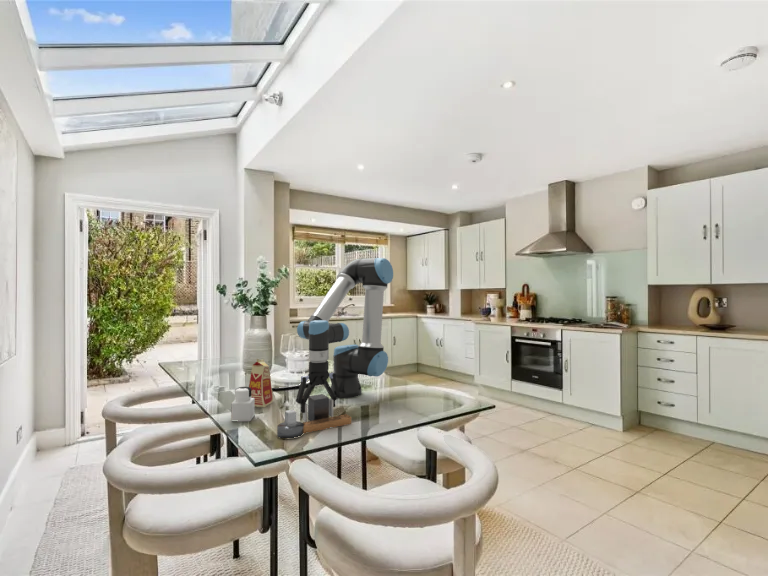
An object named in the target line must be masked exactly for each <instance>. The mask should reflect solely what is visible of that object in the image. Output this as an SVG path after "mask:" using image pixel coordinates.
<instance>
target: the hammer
mask: <svg viewBox="0 0 768 576" xmlns="http://www.w3.org/2000/svg"><path fill="white" fill-rule="evenodd" d="M351 424H352V416H350V415H348V414H347V413H345V414H341V415H335V416H334V415H333V417H331V416H329V418H324V419H318V420H313V421H310V420H307V422H305V421H303V422H301V421H297V411H296V410H294V409H289V410H288V409H287V410H284V422H281V423H280V422H279V424H278V425H277V427H276V433H277V435H276V436H277V437H278V438H279V437H280V439H282V438H294V437H298V436H301V435H302V434H303V433H304V434H307V433H306V432H309V433H312V431H314V432H318V430H319V431H323V430H326V428H328V429H331V428H330V427H333V428H337V426H338V427H342V426H348V425H351ZM304 434H303V435H304ZM303 435H302V436H303ZM302 436H301V437H302ZM298 438H299V437H298ZM294 439H295V438H294Z"/></svg>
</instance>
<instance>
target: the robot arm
mask: <svg viewBox="0 0 768 576" xmlns="http://www.w3.org/2000/svg"><path fill="white" fill-rule="evenodd" d="M393 279H394V270H393V266H392V263H391V262H390V261H389V260H388V259H387V258H384V257H372V258H371V257H368V258H367V257H366V258H364V257H362V258H361V257H360V258H357V259H354V260H352V261H351V262H348V264H346V265H345V266H344V267H343V268H341V270H340V271H339V272H338V274H337V275H336V280H335V282H334V283H333V284H332V285H331V288H330V289H329V290H328V291H327V293H326V295H324V297H323V298H322V300H321V301H320V303H319V304H318V306H317V307H316V308H315V310H314V311H313V313H312V314H311V316H310V317H309V318H308V320H304V321H300V322H299V323H298V325H297V327H296V333H297V335H298V337H299V338H301V339H304V340H307V341H308V374H307V375H305V376H301V383H300V386H299V387H298V391H297V393H296V398H295V402H296V403H297V404H299V405H300V412H301V414H302V421H303V422H308V398H309V396H311V393H312V392H313V390H314V389H315V387H318V386H323V387H324V388H325V389H326V392H327V394H328V395H329V397H330V398H329V417H334V408H336V400H337V399H338V398H340V399H342V398H343V399H351V398H356V397H359V396H362V393H363V392H362V391H363V389H362V385H361V382H360V379H359V375H360V376H361V375H363V376H368V377H380V376H381V375H383V374H384V373H385V371H386V370H387V368H388V364H389V356H388V352H386V351H384V345H383V344H382V341H381V340H382V327H383V326H382V325H383V312H384V311H383V310H384V295H385V294H384V292H385V291H386V290H387V289H388V285H389V284H390V283H392V282H393ZM358 284H362V285H361V286H362V287H363V289H364V290H365V292H364V293H365V294H364V308H363V321H362V322H363V323H362V336H361V337H362V339H361V342H360V343H359V344H345V345H338V346H336V347H335V348H334V349H333V371H331V372H329V361H328V360H329V358H330V357H329V354H330V353H329V351H330V349H329V344H334V343H341V342H342V341H343V342H344V341H346V340H347V339H348V338H349V336H350V329H349V327H348V325H347V324H346V323H344V322H337V323H331V322H329V321H330V320H331V319H332V317H333V315H334V314H335V312H336V311H337V309H338V308H339V306H340V305H341V304H342V302H343V300H344V299H345V298H346V296H347V294H348V293H349V292H350V290H352V289H354V288H355V286H356V285H358ZM308 379H309V380H310V382H309V384H308V385H306V382H307V380H308ZM328 379H330V383H331V385H330V384H329V382H328ZM306 386H307V387H306Z"/></svg>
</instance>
